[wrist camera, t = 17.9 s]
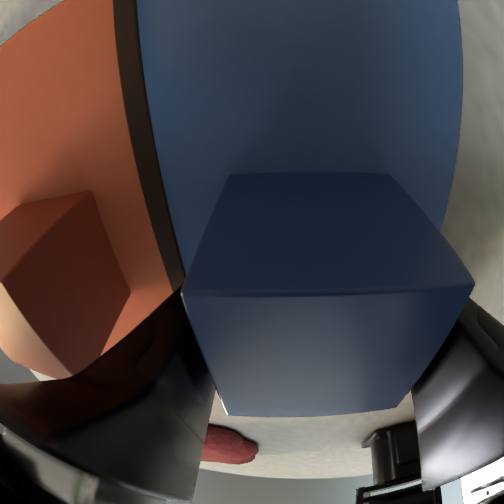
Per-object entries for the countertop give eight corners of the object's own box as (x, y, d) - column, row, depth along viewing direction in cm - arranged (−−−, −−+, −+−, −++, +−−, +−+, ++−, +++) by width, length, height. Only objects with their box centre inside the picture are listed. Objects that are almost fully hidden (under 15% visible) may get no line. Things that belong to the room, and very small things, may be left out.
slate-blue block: (368, 293, 11) (396, 408, 6) (243, 296, 11) (226, 416, 7) (391, 173, 8) (478, 282, 4) (227, 174, 8) (177, 292, 4)
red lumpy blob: (241, 425, 22) (238, 444, 20) (269, 455, 29) (269, 469, 28) (98, 407, 25) (93, 421, 24) (155, 445, 33) (152, 456, 31)
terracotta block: (132, 293, 12) (86, 390, 8) (57, 288, 12) (11, 361, 8) (92, 189, 9) (1, 280, 5) (18, 204, 9) (-53, 273, 5)
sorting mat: (376, 371, 15) (378, 380, 15) (88, 356, 17) (84, 363, 17) (443, -23, 4) (453, -27, 3) (-28, 78, 6) (-38, 81, 5)
